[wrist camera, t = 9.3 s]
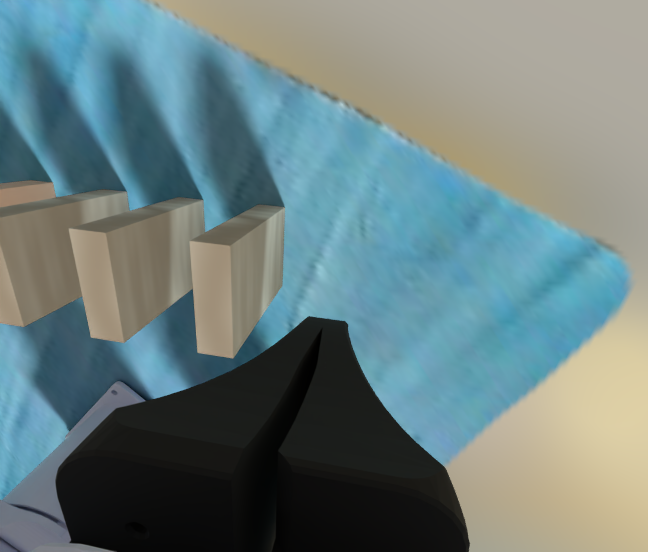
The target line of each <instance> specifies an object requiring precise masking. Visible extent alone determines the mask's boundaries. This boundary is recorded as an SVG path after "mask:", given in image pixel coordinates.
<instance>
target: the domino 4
mask: <svg viewBox="0 0 648 552" xmlns="http://www.w3.org/2000/svg"><path fill="white" fill-rule="evenodd" d="M284 221H285V207H279V206H269V205H260V204H258V205H256V206H254V207H253V208H251V209H249V210H247V211H245V212H243V213H241V214H239V215H237V216H236V217H234V218H232V219H230V220H228V221H226V222H224V223H222V224H220V225H218V226H217V227H215V228H213V229H211V230H209V231H207V232H205V233H203V234H201V235H200V236H198V237H196V238H194V239H192V240H190V255H191V269H192V283H193V296H194V310H195V324H196V338H197V352H198V353H202V354H208V355H214V356H221V357H227V358H234V357H235V355H236V354H237V352H238V351H239V349H240V348H241V346H242V345H243V343H244V342H245V340H246V339H247V337H248V336H249V334H250V333H251V331H252V330H253V328H254V327H255V325H256V324H257V322H258V321H259V319H260V318H261V316H262V315H263V313H264V312H265V311H266V309H267V308H268V306H269V305H270V303H271V302H272V300H273V299H274V297H275V296H276V294H277V293H278V291H279V290H280V288H281V287H282V280H283V251H284Z"/></svg>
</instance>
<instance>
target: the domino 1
mask: <svg viewBox="0 0 648 552" xmlns="http://www.w3.org/2000/svg"><path fill="white" fill-rule="evenodd" d="M51 198H56V195H55V190H54V186H53V182H43V181H34V180H27V181H18V182H9V183H0V207H6V206H11V205H17V204H23V203H28V202H34V201H39V200H45V199H51Z"/></svg>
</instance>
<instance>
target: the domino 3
mask: <svg viewBox="0 0 648 552" xmlns="http://www.w3.org/2000/svg"><path fill="white" fill-rule="evenodd" d="M68 229H69V234H70V238H71V243H72V248H73V253H74V258H75V263H76V267H77V272H78V277H79V282H80V287H81V292H82V296H83V301H84V306H85V311H86V316H87V320H88V325H89V330H90V335H91V338H97V339H103V340H110V341H116V342H122V343H124V342H126V341H127V340H128V339H130V338H131V337H132V336H133V335H135V334H136V333H137V332H138V331H140V330H141V329H142V328H143V327H145V326H146V325H147V324H148V323H150V322H151V321H152V320H154V319H155V318H156V317H157V316H159V315H160V314H161V313H162V312H164V311H165V310H166V309H167V308H169V307H170V306H171V305H172V304H174V303H175V302H176V301H177V300H179V299H180V298H181V297H183V296H184V295H185V294H186V293H188V292H189V291H190V290H191V289H193V283H192V269H191V255H190V240H192V239H194V238H196V237H198V236H200V235H201V234H203V233H205V222H204V204H203V200H200V199H191V198H182V197H177V198H173V199H170V200H166V201H163V202H159V203H156V204H152V205H149V206H145V207H142V208H138V209H135V210H131V211H128V212H124V213H121V214H117V215H114V216H110V217H107V218H103V219H100V220H96V221H93V222H89V223H85V224H82V225H78V226H75V227H71V228H68Z"/></svg>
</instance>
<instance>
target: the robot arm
mask: <svg viewBox="0 0 648 552" xmlns="http://www.w3.org/2000/svg"><path fill="white" fill-rule="evenodd" d="M65 438H66V439H65V440H64V441H63V442H62V443H61V444H60V445H59V446H58V447H57V448H56V449H55V450H54V451H53V452H52V453H51V454H50V455H49V456H48V457H47V458H46V459H44V460H43V461H42V462H41V463H40V464H39V465H38V466H37V467H36V468H35V469H34V470H33V471H32V472H31V473H30V474H29V475H28V476H27V477H26V478H25V479H23V480H22V481H21V482H20V483H19V484H18V485H17V486H16V487H15V488H14V489H13V490H12V491H11V492H10V493H9V494H8V495H7V496H6V497H5V498H4V499H2V500H0V552H469V546H470V543H469V539H468V532H467V527H466V523H465V519H464V516H463V513H462V510H461V507H460V504H459V501H458V498H457V495H456V493H455V490H454V487H453V485H452V483H451V480H450V477H449V475H448V473H447V470H446V469H445V467H444V466H443V465H442V464H440V463H439V462H438V461H437V460H436V459H435V458H433V457H432V456H431V455H430V454H429V453H428V452H427V451H425V450H424V449H423V448H422V447H421V446H420V445H419V444H417V443H416V442H415V441H414V440H413V439H412V438H411V437H410V436H409V435H408V434H407V433H406V432H405V431H404V430H403V429H402V428H401V426H400V425H399V424H398V423H397V422H396V420H395V419H394V418H393V417H392V416H391V414H390V413H389V412H388V411H387V410H386V408H385V407H384V406H383V404H382V403H381V401H380V400H379V398H378V397H377V396H376V394H375V392H374V391H373V389H372V388H371V386H370V384H369V383H368V381H367V379H366V377H365V375H364V373H363V371H362V369H361V367H360V365H359V363H358V361H357V358H356V355H355V353H354V350H353V348H352V345H351V341H350V337H349V333H348V324H347V323H346V322H345V321H339V320H331V319H324V318H317V317H310V316H309V317H307V318H306V319H305V320H303V321H302V322H301V323H300V324H299V325H298V326H297V327H295V328H294V329H293V330H292V331H291V332H289V333H288V334H287V335H286V336H284V337H283V338H282V339H281V340H279V341H278V342H277V343H276V344H274V345H273V346H271V347H270V348H269V349H267V350H266V351H264V352H263V353H261V354H260V355H258V356H257V357H255V358H254V359H252V360H250V361H249V362H247V363H245V364H243V365H241V366H239V367H237V368H236V369H234V370H232V371H230V372H227V373H225V374H223V375H221V376H218V377H216V378H214V379H211V380H209V381H207V382H205V383H202V384H199V385H197V386H194V387H191V388H188V389H186V390H183V391H179V392H176V393H173V394H170V395H167V396H163V397H160V398H156V399H152V400H148V401H145V400H144V399H143V398H142V397H140V396H139V395H138V394H137V393H135V392H134V391H133V390H132V389H130V388H129V387H128V386H127V385H125V384H124V383H123V382H120V381H117V382H115V383H114V384H113V385H112V386H111V387H110V388H109V389H108V391H107V392H106V393H105V394H104V395H103V396H102V397H101V398H100V399H99V400H98V401H97V402H96V404H95V405H94V406H93V407H92V408H91V409H90V410H89V411H88V412H87V413H86V414H85V416H84V417H83V418H82V419H81V420H80V421H79V422H78V423H77V424H76V425H75V426H74V427H73V429H72V430H71V431H70V432H69V433H68V434H67V435H66V437H65Z"/></svg>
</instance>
